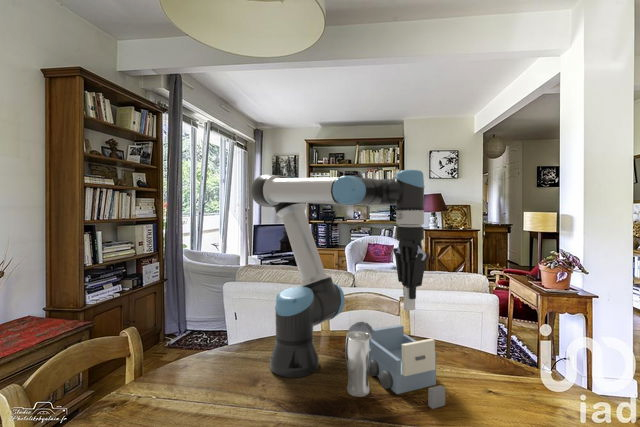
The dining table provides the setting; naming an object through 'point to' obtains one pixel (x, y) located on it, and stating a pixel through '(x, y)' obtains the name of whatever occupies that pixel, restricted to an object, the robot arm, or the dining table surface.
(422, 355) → the tailgate
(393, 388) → the trailer
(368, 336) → the beer glass
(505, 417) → the dining table surface
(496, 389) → the dining table surface
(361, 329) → the canned food
